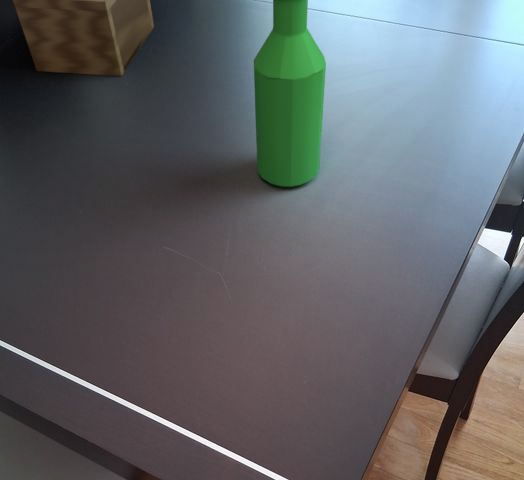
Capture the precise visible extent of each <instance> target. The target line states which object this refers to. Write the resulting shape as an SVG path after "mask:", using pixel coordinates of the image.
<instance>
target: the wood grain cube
mask: <svg viewBox="0 0 524 480" xmlns="http://www.w3.org/2000/svg"><path fill="white" fill-rule="evenodd" d="M12 3H13V5H14V7H15V10H16V14H17V16H18V17H17V18H18V20H19V23H20V26H21V29H22V31H23V35H24V38H25V40H26V44H27V46H28V49H29V52H30V55H31V58H32V61H33V64H34V67H35V69H36V72H43V73H44V72H45V73H60V74H61V73H62V74H77V75H94V76H111V77H123V75H124V74H125V73H126V71H127V69H128V67H129V66H130V64H131V63H132V62H133V60H134V58H135V57H136V56H137V54H138V53H139V51H140V49H141V48H142V46H143V45H144V43H145V42H146V40H147V39H148V38H149V35H150V34H151V33H152V31H153V29H154V28H155V24H154V23H155V22H154V17H153V11H152V6H151V0H12Z"/></svg>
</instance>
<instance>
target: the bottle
mask: <svg viewBox="0 0 524 480" xmlns="http://www.w3.org/2000/svg"><path fill="white" fill-rule="evenodd" d="M308 6H309V0H272V29H271V31H270V32H269V34H268V36H267V37H266V39H265V41H264V42H263V44H262V45H261V47H260V49H259V51H258V52H257V54H256V56H255V57H254V59H253V73H254V74H253V79H254V80H253V83H254V113H255V118H254V119H255V136H256V137H255V141H256V166H257V173H258V174H259V176H260V177H261V179H263V180H265V181H266V182H268V183H269V184H271V185H273V186H277V187H281V188H283V187H284V188H294V187H299V186H301V185H304V184H306V183H309V182H310V181H311V180H313V179H314V178H315V177H316V176H317V175H318V172H319V170H320V163H321V161H320V160H321V146H322V132H323V116H324V101H325V83H326V70H327V69H326V67H327V62H326V59H325V58H326V57H325V56H324V54H323V51H321V49H320V47H319V46H318V44H317V42H316V40H315V39H314V37H313V35H312V34H311V32H310V31H309V29H308V10H309V9H308Z"/></svg>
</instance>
